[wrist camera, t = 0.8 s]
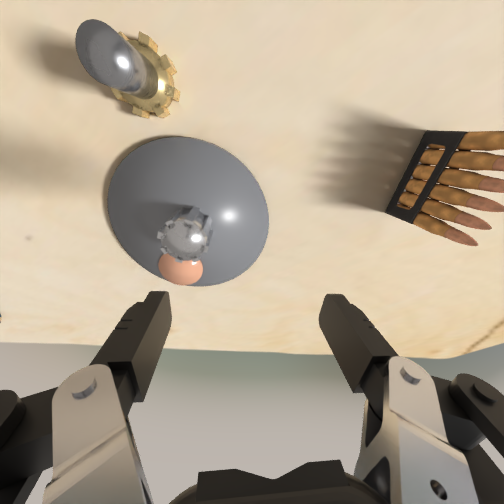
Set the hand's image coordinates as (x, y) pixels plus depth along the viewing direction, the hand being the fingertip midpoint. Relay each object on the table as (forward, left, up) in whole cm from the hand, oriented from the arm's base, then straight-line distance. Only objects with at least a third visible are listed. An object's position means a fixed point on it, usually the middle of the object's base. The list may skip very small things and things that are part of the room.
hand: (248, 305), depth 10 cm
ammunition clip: (-11, +20, -20) cm, 31 cm away
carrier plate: (+6, -6, -20) cm, 22 cm away
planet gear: (-8, -14, -20) cm, 26 cm away
